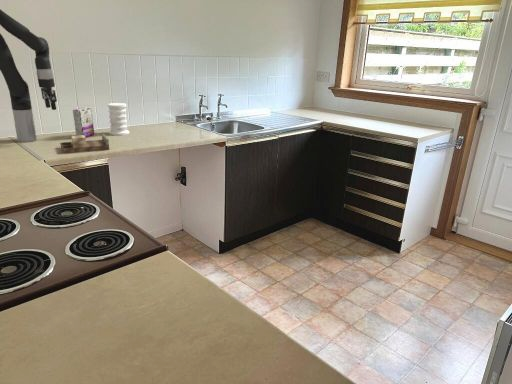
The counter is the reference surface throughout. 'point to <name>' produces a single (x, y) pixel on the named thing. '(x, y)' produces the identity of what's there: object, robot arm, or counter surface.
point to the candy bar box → (83, 122)
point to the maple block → (79, 140)
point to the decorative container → (118, 119)
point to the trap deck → (86, 146)
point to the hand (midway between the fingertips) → (51, 108)
